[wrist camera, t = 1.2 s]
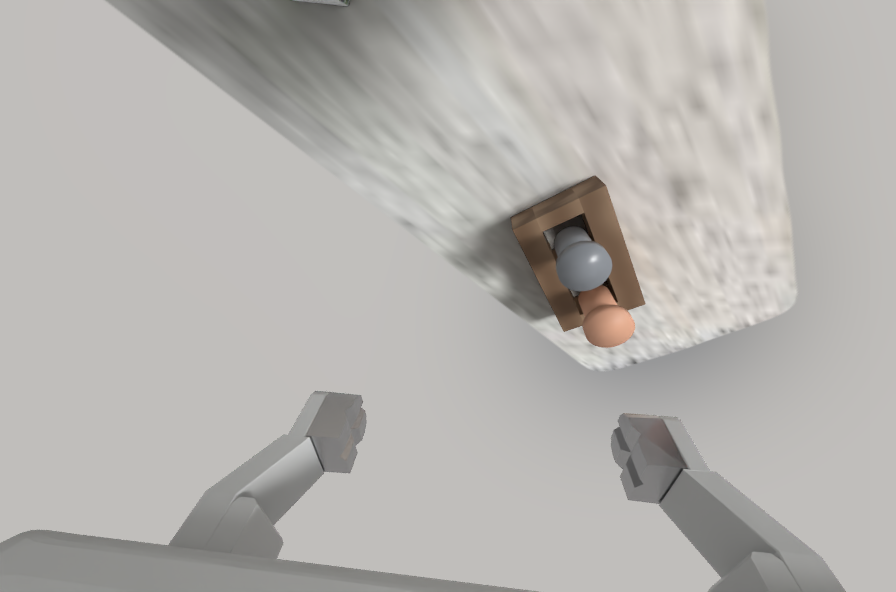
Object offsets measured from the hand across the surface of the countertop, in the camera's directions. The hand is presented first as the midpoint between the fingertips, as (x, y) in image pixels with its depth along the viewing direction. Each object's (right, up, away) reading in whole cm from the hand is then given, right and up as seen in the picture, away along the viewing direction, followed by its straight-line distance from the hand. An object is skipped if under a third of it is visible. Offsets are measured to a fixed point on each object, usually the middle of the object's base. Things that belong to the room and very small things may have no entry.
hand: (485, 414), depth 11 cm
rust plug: (+16, +4, +29) cm, 33 cm away
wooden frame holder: (+15, +9, +31) cm, 35 cm away
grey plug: (+12, +10, +25) cm, 30 cm away
